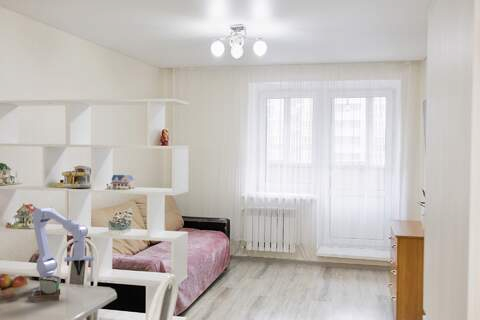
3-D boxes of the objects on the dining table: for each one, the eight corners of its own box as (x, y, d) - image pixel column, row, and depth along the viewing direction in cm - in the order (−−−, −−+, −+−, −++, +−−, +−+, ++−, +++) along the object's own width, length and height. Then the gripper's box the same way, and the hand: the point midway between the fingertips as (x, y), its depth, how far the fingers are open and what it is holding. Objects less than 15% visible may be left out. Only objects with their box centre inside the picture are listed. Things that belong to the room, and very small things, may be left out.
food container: (65, 296, 244) (66, 277, 244) (57, 299, 239) (57, 280, 238) (47, 293, 249) (47, 274, 248) (38, 296, 243) (38, 277, 243)
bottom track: (33, 295, 245) (33, 289, 244) (60, 293, 249) (60, 287, 249) (31, 301, 234) (31, 295, 234) (59, 300, 238) (59, 294, 238)
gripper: (64, 251, 242) (63, 277, 242) (93, 250, 246) (93, 275, 246) (65, 248, 248) (64, 273, 249) (93, 247, 253) (93, 272, 253)
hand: (78, 274), depth 248 cm, fingers closed
